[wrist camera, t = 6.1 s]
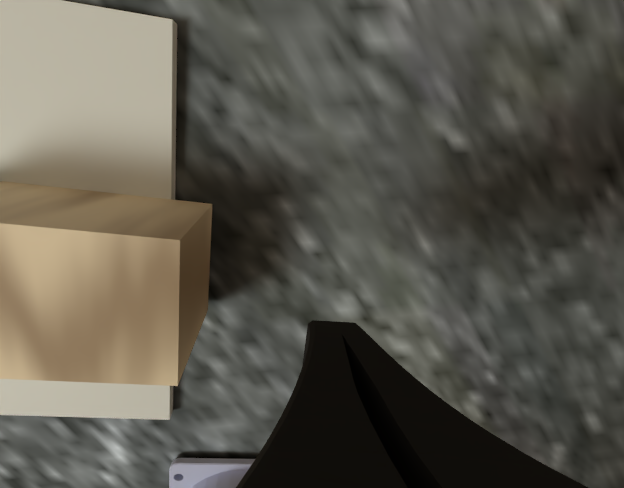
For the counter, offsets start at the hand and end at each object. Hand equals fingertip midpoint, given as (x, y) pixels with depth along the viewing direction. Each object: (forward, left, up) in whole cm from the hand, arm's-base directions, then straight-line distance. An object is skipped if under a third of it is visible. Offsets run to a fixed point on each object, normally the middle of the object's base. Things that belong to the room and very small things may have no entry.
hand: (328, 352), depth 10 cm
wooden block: (0, +4, -4) cm, 6 cm away
